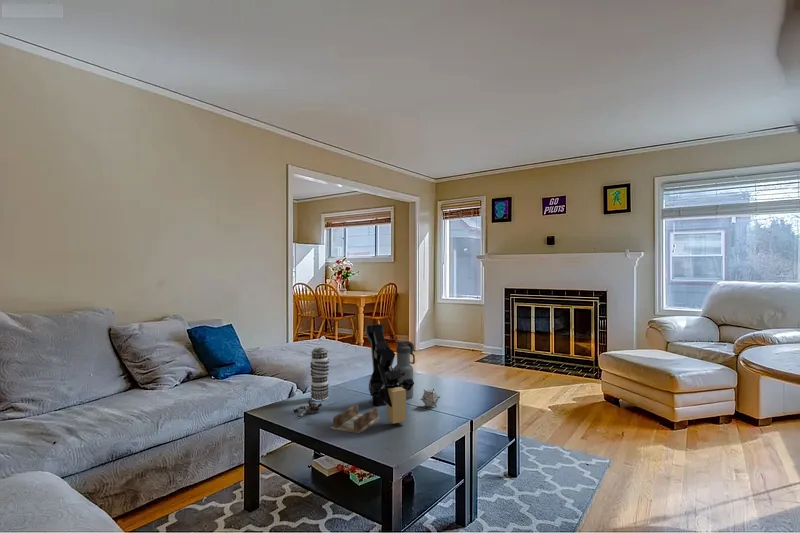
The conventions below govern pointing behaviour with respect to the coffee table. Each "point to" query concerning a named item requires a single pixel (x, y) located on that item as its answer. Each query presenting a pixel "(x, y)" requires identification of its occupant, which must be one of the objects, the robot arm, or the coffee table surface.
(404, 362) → the water bottle
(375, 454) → the coffee table surface
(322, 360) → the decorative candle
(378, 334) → the robot arm
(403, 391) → the pillar
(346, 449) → the coffee table surface
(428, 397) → the game die
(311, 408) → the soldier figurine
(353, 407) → the brown open-ended tray
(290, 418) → the coffee table surface
